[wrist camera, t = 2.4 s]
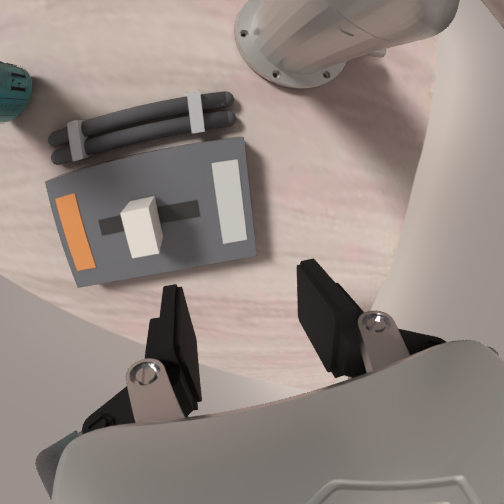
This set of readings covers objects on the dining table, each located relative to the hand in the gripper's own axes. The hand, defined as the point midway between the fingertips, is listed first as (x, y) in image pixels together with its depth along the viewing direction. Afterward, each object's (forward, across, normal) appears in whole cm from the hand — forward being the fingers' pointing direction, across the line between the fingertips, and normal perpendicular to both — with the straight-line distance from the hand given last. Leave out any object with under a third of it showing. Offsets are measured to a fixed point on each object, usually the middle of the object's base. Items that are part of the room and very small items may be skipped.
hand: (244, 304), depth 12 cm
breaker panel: (+19, +6, 0) cm, 20 cm away
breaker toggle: (+16, +7, 0) cm, 17 cm away
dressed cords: (+19, +7, -9) cm, 22 cm away
